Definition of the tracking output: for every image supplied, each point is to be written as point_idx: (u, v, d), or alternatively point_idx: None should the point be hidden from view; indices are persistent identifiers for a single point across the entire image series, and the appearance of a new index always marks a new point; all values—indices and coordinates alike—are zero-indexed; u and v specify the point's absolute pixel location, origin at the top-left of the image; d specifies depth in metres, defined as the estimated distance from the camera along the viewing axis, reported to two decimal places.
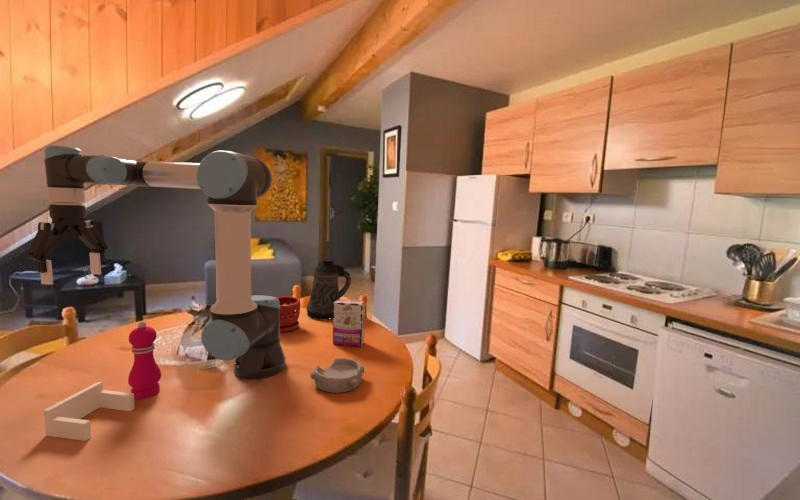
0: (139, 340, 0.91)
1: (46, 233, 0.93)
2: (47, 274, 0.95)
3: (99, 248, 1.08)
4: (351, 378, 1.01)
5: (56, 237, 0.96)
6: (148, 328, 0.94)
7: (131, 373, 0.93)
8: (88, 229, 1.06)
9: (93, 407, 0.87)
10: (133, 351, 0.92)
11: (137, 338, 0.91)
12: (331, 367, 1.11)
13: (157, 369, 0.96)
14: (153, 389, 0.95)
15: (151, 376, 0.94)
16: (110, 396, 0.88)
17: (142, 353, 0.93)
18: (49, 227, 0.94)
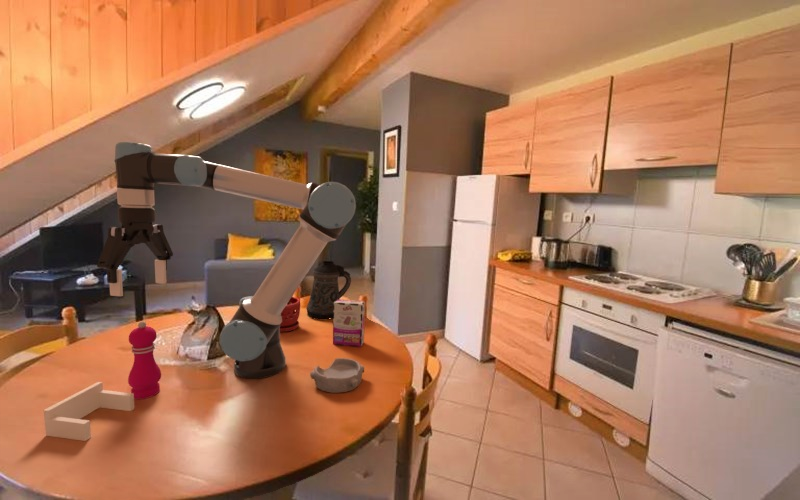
0: (139, 340, 0.91)
1: (117, 239, 0.84)
2: (117, 285, 0.85)
3: (165, 255, 0.99)
4: (351, 378, 1.01)
5: (126, 243, 0.87)
6: (148, 328, 0.94)
7: (131, 373, 0.93)
8: (154, 234, 0.97)
9: (93, 407, 0.87)
10: (133, 351, 0.92)
11: (137, 338, 0.91)
12: (331, 367, 1.11)
13: (157, 369, 0.96)
14: (153, 389, 0.95)
15: (151, 376, 0.94)
16: (110, 396, 0.88)
17: (142, 353, 0.93)
18: (120, 232, 0.84)
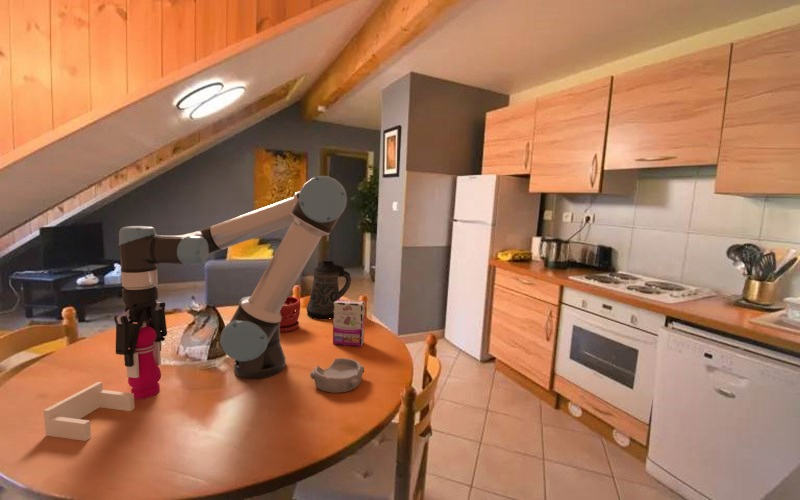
0: (139, 340, 0.91)
1: (126, 327, 0.87)
2: (134, 367, 0.91)
3: (160, 336, 0.98)
4: (351, 378, 1.01)
5: (134, 326, 0.91)
6: (148, 328, 0.94)
7: None
8: (155, 311, 0.99)
9: (93, 407, 0.87)
10: None
11: None
12: (331, 367, 1.11)
13: (157, 369, 0.96)
14: (153, 389, 0.95)
15: (151, 376, 0.94)
16: (110, 396, 0.88)
17: (142, 353, 0.93)
18: (126, 320, 0.87)
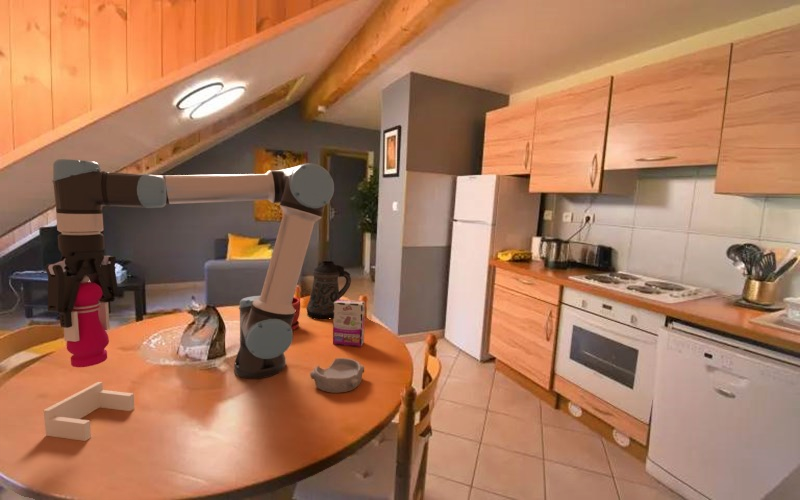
0: (79, 296, 0.77)
1: (60, 278, 0.73)
2: (72, 329, 0.76)
3: (108, 295, 0.84)
4: (351, 378, 1.01)
5: (73, 280, 0.76)
6: (91, 283, 0.79)
7: None
8: (103, 267, 0.84)
9: (93, 407, 0.87)
10: None
11: None
12: (331, 367, 1.11)
13: (103, 333, 0.81)
14: (97, 356, 0.80)
15: (94, 341, 0.79)
16: (110, 396, 0.88)
17: (83, 312, 0.78)
18: (60, 270, 0.73)
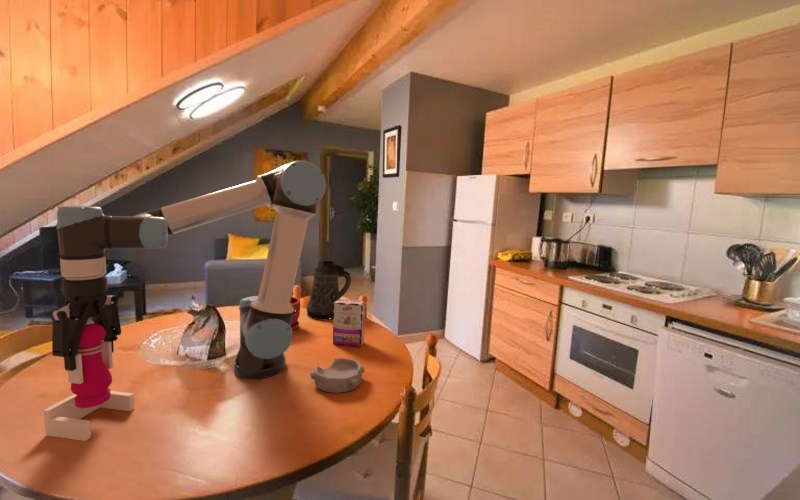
0: (83, 340, 0.78)
1: (64, 324, 0.74)
2: (76, 371, 0.78)
3: (111, 334, 0.85)
4: (351, 378, 1.01)
5: (77, 323, 0.77)
6: (94, 325, 0.81)
7: None
8: (106, 306, 0.85)
9: (93, 407, 0.87)
10: None
11: None
12: (331, 367, 1.11)
13: (106, 373, 0.83)
14: (101, 396, 0.82)
15: (98, 382, 0.80)
16: None
17: (87, 355, 0.79)
18: (65, 316, 0.74)
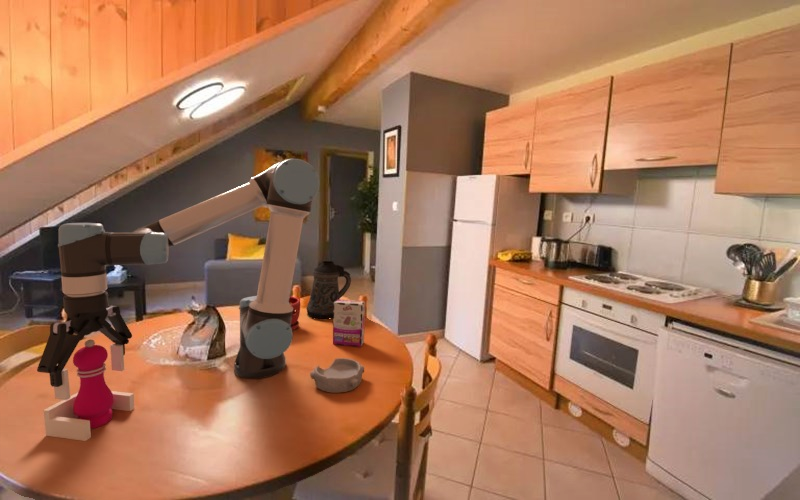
0: (85, 362, 0.79)
1: (61, 337, 0.74)
2: (63, 387, 0.75)
3: (122, 339, 0.88)
4: (351, 378, 1.01)
5: (73, 338, 0.77)
6: (97, 347, 0.81)
7: (76, 400, 0.80)
8: (110, 317, 0.86)
9: None
10: (78, 374, 0.80)
11: (82, 360, 0.79)
12: (331, 367, 1.11)
13: (108, 394, 0.83)
14: (103, 417, 0.82)
15: (100, 403, 0.81)
16: None
17: (89, 376, 0.80)
18: (64, 329, 0.74)
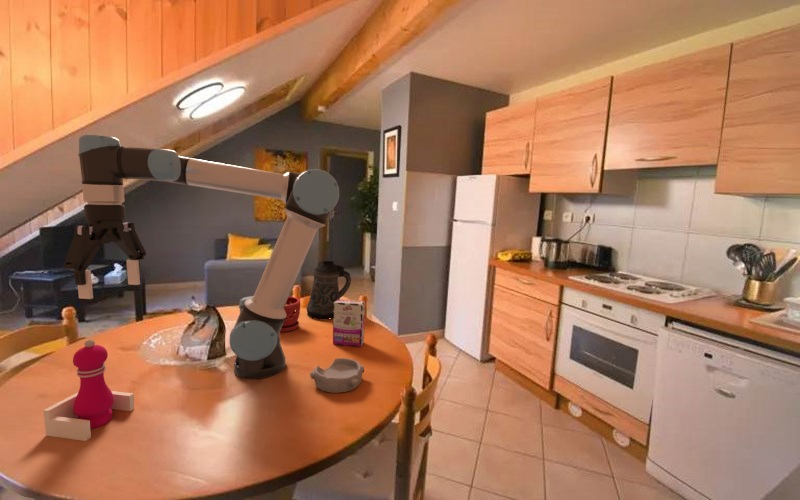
0: (85, 362, 0.79)
1: (85, 238, 0.79)
2: (86, 287, 0.80)
3: (137, 254, 0.94)
4: (351, 378, 1.01)
5: (94, 243, 0.82)
6: (97, 347, 0.81)
7: (76, 400, 0.80)
8: (125, 233, 0.92)
9: None
10: (78, 374, 0.80)
11: (82, 360, 0.79)
12: (331, 367, 1.11)
13: (108, 394, 0.83)
14: (103, 417, 0.82)
15: (100, 403, 0.81)
16: None
17: (89, 376, 0.80)
18: (88, 231, 0.79)
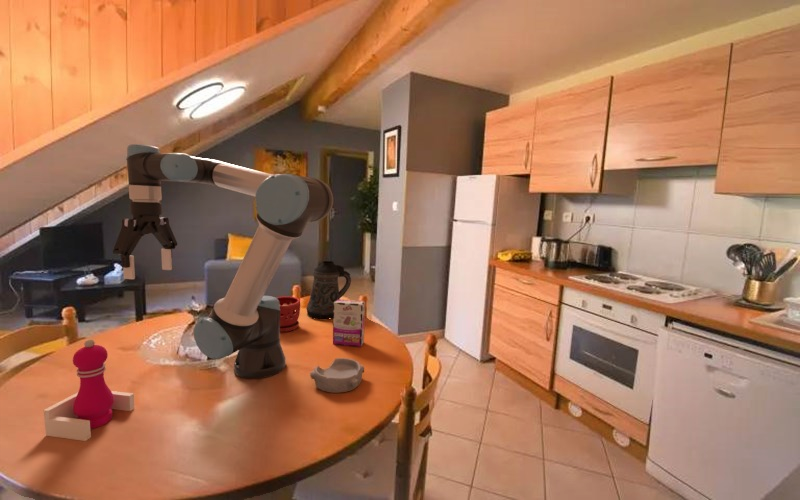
0: (85, 362, 0.79)
1: (130, 229, 0.96)
2: (130, 269, 0.97)
3: (170, 244, 1.11)
4: (351, 378, 1.01)
5: (137, 233, 0.99)
6: (96, 347, 0.81)
7: (76, 400, 0.80)
8: (161, 226, 1.09)
9: None
10: (78, 374, 0.80)
11: (82, 360, 0.79)
12: (331, 367, 1.11)
13: (108, 394, 0.83)
14: (103, 417, 0.82)
15: (100, 403, 0.81)
16: None
17: (89, 377, 0.80)
18: (132, 223, 0.97)
